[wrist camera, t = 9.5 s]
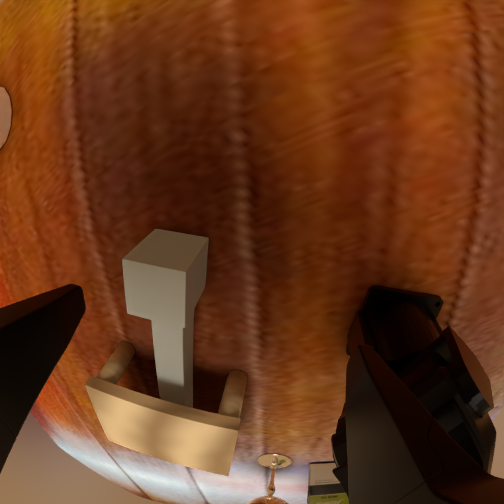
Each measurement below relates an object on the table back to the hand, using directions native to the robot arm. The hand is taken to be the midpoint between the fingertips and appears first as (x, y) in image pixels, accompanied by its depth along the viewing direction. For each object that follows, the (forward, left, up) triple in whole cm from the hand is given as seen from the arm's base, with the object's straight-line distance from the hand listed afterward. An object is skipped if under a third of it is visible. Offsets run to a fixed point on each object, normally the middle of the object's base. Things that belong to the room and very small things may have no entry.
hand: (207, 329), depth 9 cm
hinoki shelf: (+5, +20, -12) cm, 23 cm away
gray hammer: (+5, +12, -12) cm, 18 cm away
